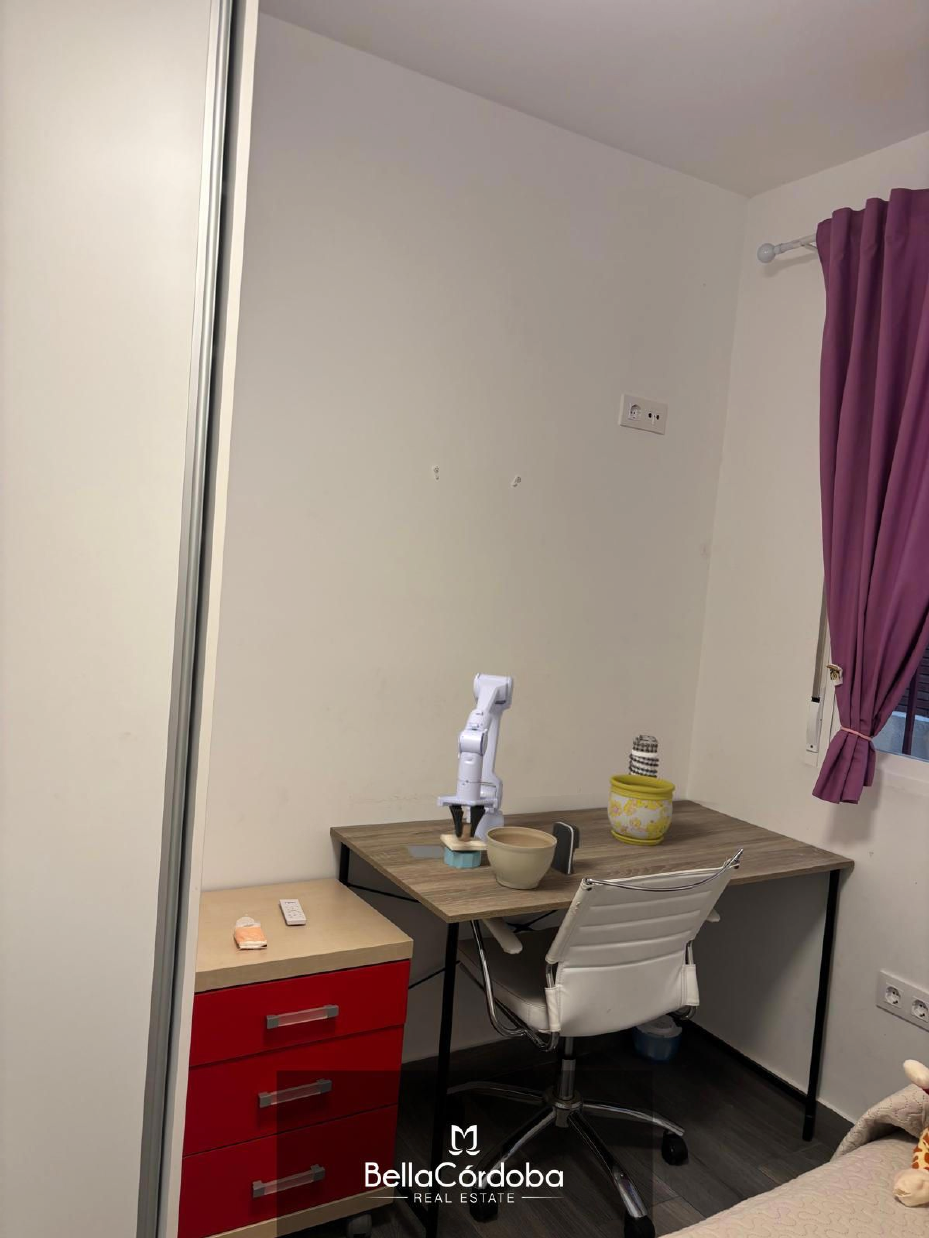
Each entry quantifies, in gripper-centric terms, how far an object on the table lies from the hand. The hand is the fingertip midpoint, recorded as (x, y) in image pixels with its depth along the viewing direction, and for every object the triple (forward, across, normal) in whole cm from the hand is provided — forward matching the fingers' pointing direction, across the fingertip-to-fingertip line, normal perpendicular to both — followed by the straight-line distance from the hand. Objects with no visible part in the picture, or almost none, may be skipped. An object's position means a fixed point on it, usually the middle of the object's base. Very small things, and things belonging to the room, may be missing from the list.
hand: (464, 836), depth 224 cm
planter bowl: (+7, +10, -13) cm, 18 cm away
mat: (+7, -6, +9) cm, 13 cm away
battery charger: (+7, +24, -4) cm, 26 cm away
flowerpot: (+7, +58, +23) cm, 62 cm away
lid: (+2, 0, 0) cm, 2 cm away
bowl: (+7, 0, 0) cm, 7 cm away
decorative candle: (+7, +70, +48) cm, 86 cm away
